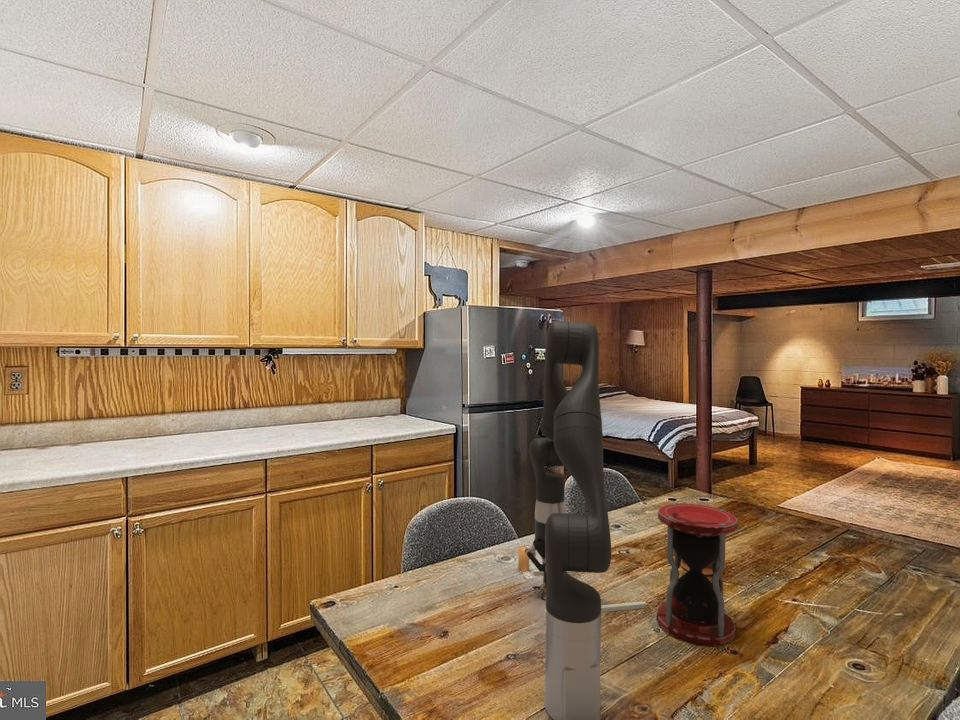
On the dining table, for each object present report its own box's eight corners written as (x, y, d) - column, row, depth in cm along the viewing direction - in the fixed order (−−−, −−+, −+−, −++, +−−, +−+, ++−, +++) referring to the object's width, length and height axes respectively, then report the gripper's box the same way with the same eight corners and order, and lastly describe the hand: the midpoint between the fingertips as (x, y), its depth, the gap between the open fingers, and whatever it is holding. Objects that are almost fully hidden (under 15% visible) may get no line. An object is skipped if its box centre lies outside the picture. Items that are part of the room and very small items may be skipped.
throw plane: (654, 616, 117) (654, 590, 117) (551, 626, 113) (551, 599, 113) (600, 561, 147) (600, 541, 147) (517, 568, 142) (517, 546, 142)
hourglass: (641, 614, 118) (642, 506, 118) (696, 602, 124) (698, 499, 123) (693, 653, 103) (695, 530, 103) (753, 638, 109) (755, 521, 108)
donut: (682, 575, 139) (683, 560, 139) (678, 560, 149) (678, 546, 149) (723, 579, 137) (723, 564, 137) (715, 564, 146) (716, 550, 146)
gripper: (528, 524, 123) (528, 595, 124) (580, 521, 126) (580, 591, 126) (520, 514, 131) (520, 581, 131) (570, 511, 133) (569, 577, 133)
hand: (549, 585), depth 129 cm, fingers closed
